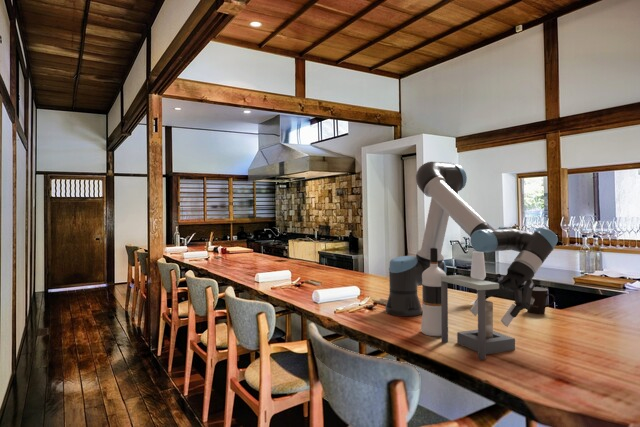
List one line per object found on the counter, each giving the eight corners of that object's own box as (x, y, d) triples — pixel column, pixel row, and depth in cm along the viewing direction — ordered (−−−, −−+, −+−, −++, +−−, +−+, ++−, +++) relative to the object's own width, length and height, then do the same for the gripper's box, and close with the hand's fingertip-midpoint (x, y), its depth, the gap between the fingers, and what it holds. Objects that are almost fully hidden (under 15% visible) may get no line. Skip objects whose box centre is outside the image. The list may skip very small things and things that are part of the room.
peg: (477, 347, 129) (477, 302, 129) (478, 343, 133) (478, 300, 133) (492, 349, 127) (492, 304, 127) (493, 345, 131) (492, 301, 131)
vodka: (415, 332, 146) (414, 247, 146) (433, 328, 151) (432, 246, 151) (435, 338, 138) (435, 249, 138) (453, 334, 143) (453, 248, 143)
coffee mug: (520, 310, 177) (520, 287, 177) (539, 309, 178) (539, 286, 178) (536, 317, 165) (536, 292, 165) (557, 316, 166) (557, 291, 166)
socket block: (486, 338, 138) (486, 328, 138) (515, 349, 126) (515, 338, 126) (457, 342, 133) (457, 332, 133) (484, 354, 122) (483, 343, 122)
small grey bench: (457, 338, 138) (457, 274, 138) (500, 357, 120) (500, 283, 120) (440, 341, 135) (439, 275, 135) (481, 360, 117) (481, 285, 117)
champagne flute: (485, 302, 193) (485, 251, 193) (486, 305, 186) (486, 252, 186) (470, 301, 195) (470, 251, 195) (470, 304, 188) (470, 252, 188)
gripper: (564, 281, 124) (526, 336, 119) (501, 270, 147) (467, 316, 142) (551, 264, 122) (511, 320, 117) (489, 256, 145) (454, 302, 140)
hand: (487, 318), depth 129 cm, fingers open, 13 cm apart
